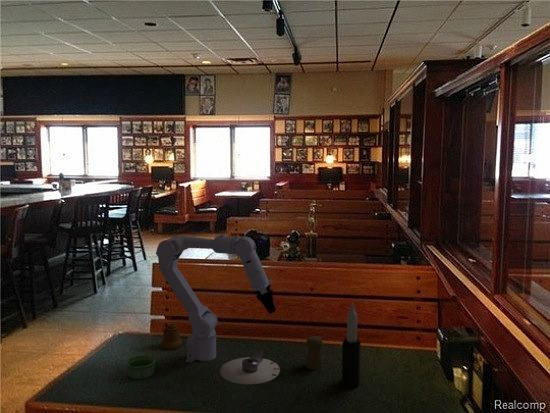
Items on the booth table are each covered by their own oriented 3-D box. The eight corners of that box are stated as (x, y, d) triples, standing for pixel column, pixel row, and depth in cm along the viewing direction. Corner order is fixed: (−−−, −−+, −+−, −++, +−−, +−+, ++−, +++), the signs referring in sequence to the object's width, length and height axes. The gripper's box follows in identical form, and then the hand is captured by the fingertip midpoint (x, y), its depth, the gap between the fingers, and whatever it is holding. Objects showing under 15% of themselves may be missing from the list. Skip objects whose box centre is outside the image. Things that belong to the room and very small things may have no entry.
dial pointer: (253, 373, 143) (253, 364, 142) (239, 370, 145) (239, 361, 144) (267, 361, 152) (267, 352, 151) (254, 358, 154) (254, 349, 153)
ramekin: (161, 373, 147) (161, 360, 146) (135, 383, 140) (135, 369, 140) (146, 365, 153) (145, 352, 152) (121, 374, 146) (120, 360, 146)
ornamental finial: (174, 340, 174) (186, 346, 168) (157, 346, 168) (168, 352, 163) (174, 320, 173) (185, 325, 168) (156, 325, 167) (168, 330, 162)
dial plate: (208, 380, 142) (208, 375, 141) (238, 357, 159) (238, 352, 159) (263, 394, 134) (263, 388, 133) (289, 368, 151) (289, 363, 151)
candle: (360, 380, 143) (362, 301, 140) (357, 387, 138) (359, 306, 135) (344, 377, 144) (345, 299, 142) (341, 384, 139) (342, 304, 137)
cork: (322, 375, 146) (323, 341, 145) (303, 373, 147) (304, 340, 146) (324, 367, 151) (325, 334, 150) (306, 365, 153) (306, 333, 152)
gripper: (268, 269, 143) (285, 309, 144) (264, 264, 158) (280, 300, 158) (247, 278, 143) (264, 318, 143) (245, 273, 157) (261, 309, 158)
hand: (271, 310), depth 151 cm, fingers open, 7 cm apart
